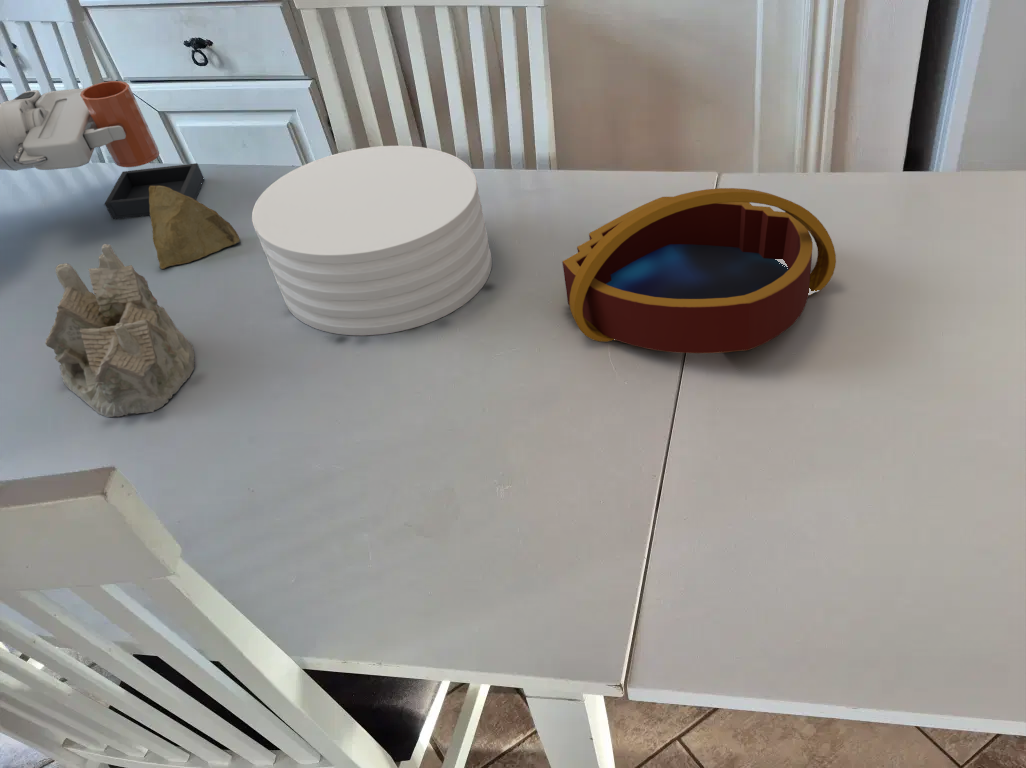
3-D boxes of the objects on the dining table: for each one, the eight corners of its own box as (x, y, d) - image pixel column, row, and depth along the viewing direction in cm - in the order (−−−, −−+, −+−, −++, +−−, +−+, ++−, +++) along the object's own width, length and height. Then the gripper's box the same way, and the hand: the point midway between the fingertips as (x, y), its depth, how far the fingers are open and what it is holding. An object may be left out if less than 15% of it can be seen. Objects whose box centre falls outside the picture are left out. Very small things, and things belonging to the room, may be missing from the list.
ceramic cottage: (87, 336, 107) (21, 234, 95) (216, 335, 107) (165, 233, 95) (31, 425, 97) (-51, 322, 85) (173, 424, 97) (110, 322, 85)
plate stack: (472, 206, 126) (457, 131, 118) (510, 307, 108) (495, 226, 99) (281, 243, 121) (251, 167, 113) (286, 356, 103) (251, 274, 94)
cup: (121, 171, 124) (87, 103, 117) (109, 156, 128) (75, 89, 120) (165, 158, 127) (134, 90, 119) (152, 143, 130) (121, 77, 123)
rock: (247, 212, 123) (177, 206, 123) (222, 186, 115) (147, 179, 114) (238, 283, 122) (167, 277, 121) (213, 262, 113) (137, 255, 113)
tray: (113, 219, 128) (104, 203, 126) (130, 187, 135) (122, 171, 133) (191, 210, 129) (183, 194, 127) (204, 179, 136) (197, 163, 134)
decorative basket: (790, 246, 119) (792, 137, 110) (882, 338, 97) (895, 211, 87) (556, 289, 115) (538, 179, 106) (596, 397, 92) (577, 269, 83)
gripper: (-4, 143, 112) (107, 126, 114) (28, 86, 125) (126, 72, 128) (23, 187, 116) (129, 171, 119) (51, 128, 130) (145, 114, 132)
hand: (128, 119), depth 123 cm, fingers closed on cup, 6 cm apart
